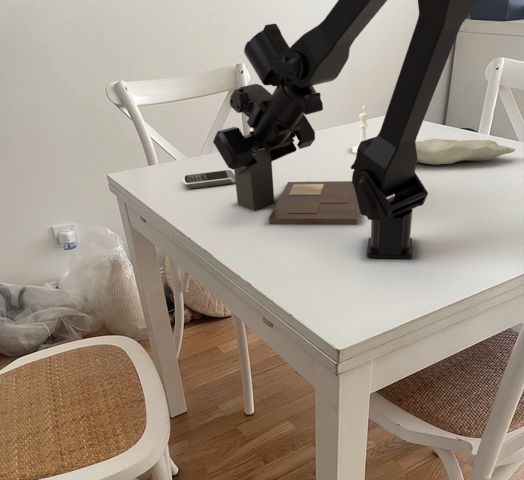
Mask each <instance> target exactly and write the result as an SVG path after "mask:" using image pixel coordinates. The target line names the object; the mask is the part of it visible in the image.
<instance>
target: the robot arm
mask: <svg viewBox="0 0 524 480" xmlns="http://www.w3.org/2000/svg"><path fill="white" fill-rule="evenodd" d="M336 1H337V2H335V4H334V6H332V8H331V9H330V11H329V12H328V14H327V15H326V17H325V18H324V19H323V20H322V21H321V22H320V23H319V24H317V25H316V26H314V27H312V28H311V29H309V30H308V31H306V32H305V33H303V34H302V35H301V36H300V37H299V38H298V39H297V40H296V41H295V42H294V43H293V44H292V45H291V46H290V45H289V44H288V43H287V40H286V39H285V38H284V36H283V34H282V32H281V30H280V27H279V26H278V25H277V23H269V24H265V25H264V27H263V29H262V30H261V31H259V32H257V33H256V34H255V35H254V36H253V37H252V38H251V39H250V40H248V41H246V44H245V46H244V49H243V53H244V55H245V57H246V59H247V60H248V62H249V63H250V65H251V67H252V68H253V70H254V72H255V74H256V75H257V77H258V78H259V80H260V82H261V84H262V85H261V84H259V83H253V84H248V85H244V86H240V87H239V88H236V89H234V90H233V92H232V93H231V95H230V98H229V106H230V107H231V108H232V109H233V110H234V111H235V112H236V113H237V114H241V113H243V114H244V115H245V116H246V117H247V118H248V119H247V121H246V124H247V125H248V127H249V129H253V130H251V131H249V132H248V135H250V137H247V138H244V136H245V135H244V134H243V133H242V131H241V129H240V128H239V127H236V126H232V127H228V128H225V129H220V130H217V132H216V134H215V135H214V138H213V140H212V142H213V144H214V146H215V148H216V150H217V151H218V153H219V154H220V157H221V158H222V160H223V161H224V163H225V164H226V167H227V168H229V170H234V169H235V170H236V172H237V173H241V172H243V171H244V170H246V169H248V168H250V167H251V166H253V165H255V164H257V161H256V159H255V157H254V156H255V155H256V154H257V151H259V150H262V149H266V151H270V150H271V160H272V162H275V161H276V160H279V159H281V158H283V157H286V156H287V155H290V154H292V153H295V152H296V151H297V148H298V149H299V150H302V149H305V148H308V147H310V146H311V145H312V144H313V143H314V141H316V132H315V130H314V128H313V126H312V125H311V123H310V122H309V120H308V118H307V115H311V114H314V113H319V112H323V109H324V105H323V101H322V99H321V98H322V97H321V95H322V94H321V92H319V91H318V92H317V90H316V88H315V87H314V86H316V85H321V84H325V83H326V84H327V83H329V82H333V81H334V80H336V79H337V78H338V77H339V75H340V73H341V72H342V71H343V68H344V67H345V65H346V64H347V62H348V60H349V58H350V49H351V47H352V45H353V43H354V41H355V40H356V39H357V38H358V36H360V34H361V33H362V32H363V30H365V28H366V27H367V26H368V25H369V23H370V22H371V21H372V20H373V18H374V17H375V16H376V15H377V13H378V12H379V11H380V10H381V9H382V7H383V6H384V5H385V4H386V3H387V2H388V0H336ZM481 2H482V0H417V5H418V6H417V7H418V15H417V16H418V17H417V20H416V22H415V23H416V24H415V27H414V29H413V32H412V35H411V39H410V40H409V44H408V47H407V50H406V52H405V53H406V54H405V56H404V59H403V62H402V65H401V68H400V71H399V74H398V77H397V80H396V83H395V86H394V89H393V92H392V95H391V98H390V99H389V104H388V106H387V109H386V112H385V115H384V118H383V121H382V125H381V127H380V130H379V132H378V134H377V135H376V136H374V137H371V138H368V139H367V138H366V140H364V141H361V142H360V144H358V145H359V146H358V149H357V153H356V155H355V160H354V161H353V163H352V165H351V166H350V169H351V170H353V171H352V176H351V181H352V184H353V185H354V189H355V193H356V197H357V201H358V205H359V213H360V215H361V216H366V217H367V220H369V221H370V237H368V240H367V248H366V249H367V250H366V258H371V259H374V258H375V259H412V258H413V255H414V254H413V238H412V237H411V232H412V221H413V210H414V209H416V208H418V207H421V206H423V205H424V204H425V202H426V200H427V197H428V195H429V191H428V190H427V189H426V187H425V186H424V184H423V183H422V181H421V179H420V178H419V176H418V174H417V173H416V167H417V163H418V162H417V160H418V158H417V150H416V143H415V142H417V137H418V135H419V132H420V130H421V128H422V125H423V123H424V120H425V117H426V115H427V112H428V109H429V108H430V104H431V102H432V100H433V98H434V94H435V92H436V89H437V87H438V84H439V82H440V79H441V77H442V75H443V71H444V70H445V67H446V64H447V63H448V62H447V61H448V59H449V56H450V54H451V52H452V48H453V46H454V44H455V41H456V39H457V36H458V34H459V31H460V29H461V27H462V25H463V23H464V22H465V21H466V20H467V18H469V16H470V15H471V14H472V13H473V11H474V10H475V9H476V8H477V7H478V5H479V4H480V3H481ZM264 86H272V87H275V89H274V91H273V93H271V92H270V91H269V90H267V89H266V88H265V87H264ZM295 139H297V140H298V142H297V143H296V145H295V143H294V142H295Z"/></svg>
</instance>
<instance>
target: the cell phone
mask: <svg viewBox="0 0 524 480" xmlns="http://www.w3.org/2000/svg"><path fill="white" fill-rule="evenodd" d="M182 181H183V182H182V183H183V185H184V186H185V188H186V189H187V190H188V189H189V190H191V189H192V190H193V189H200V188H208V187H215V186H224V185H232V184H236V182H235V173H234V172H233V171H232V169H226V170H217V171H211V172H210V171H209V172H201V173H192V174H186V175H184V176H183V178H182Z"/></svg>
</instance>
